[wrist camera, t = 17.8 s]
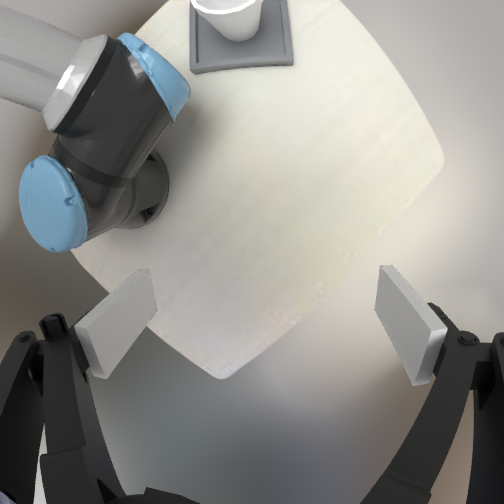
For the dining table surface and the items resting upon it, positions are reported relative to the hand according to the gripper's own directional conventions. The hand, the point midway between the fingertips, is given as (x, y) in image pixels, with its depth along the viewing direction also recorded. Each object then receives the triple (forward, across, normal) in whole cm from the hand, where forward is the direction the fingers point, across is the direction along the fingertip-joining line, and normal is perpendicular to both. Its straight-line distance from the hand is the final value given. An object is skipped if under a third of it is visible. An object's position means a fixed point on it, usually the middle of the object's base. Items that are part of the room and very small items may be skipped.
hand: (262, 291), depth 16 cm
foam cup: (+31, -4, +31) cm, 44 cm away
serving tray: (+32, -4, +31) cm, 45 cm away
